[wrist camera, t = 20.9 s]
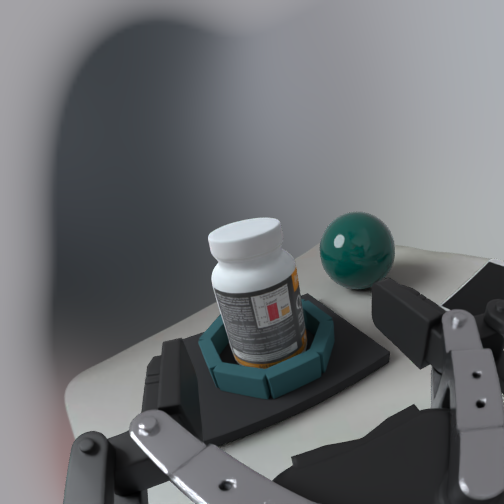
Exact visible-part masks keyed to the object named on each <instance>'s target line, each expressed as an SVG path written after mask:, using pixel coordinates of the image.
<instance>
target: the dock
mask: <svg viewBox="0 0 504 504" xmlns="http://www.w3.org/2000/svg"><path fill="white" fill-rule="evenodd" d="M301 302H302V308H303V315H304V322H305V329H306V336H307V348H306V351H305V352H303V353H301V354H299V355H296V356H294V357H292V358H290V359H287V360H285V361H283V362H280V363H278V364H276V365H273V366H271V367H269V368H266V369H263V368H256V367H249V366H242V365H239V364H238V363H237V361H236V360H235V357H234V355H233V352H232V349H231V346H230V343H229V339H228V336H227V332H226V329H225V326H224V322H223V319H222V317H221V314H220V315H219V317H218V318H217V319H216V320H215V321H214V322H213V323H212V324H211V326H210V327H209V328H208V329H207V330H206V331H205V332H203V333H200V334H197V335H194V336H191V337H188V338H185V339H183V341H184V344H185V346H186V349H187V351H188V354H189V356H190V359H191V361H192V364H193V366H194V369H195V372H196V376H197V380H198V391H199V402H200V412H201V422H202V432H203V440H204V444H206V445H208V444H209V443H211V444H214V445H215V446H219V445H222V444H225V443H228V442H231V441H233V440H236V439H239V438H241V437H244V436H247V435H249V434H252V433H254V432H257V431H259V430H262V429H264V428H266V427H269V426H271V425H273V424H276V423H278V422H280V421H282V420H285V419H287V418H289V417H291V416H293V415H295V414H298V413H300V412H302V411H304V410H306V409H308V408H310V407H312V406H314V405H316V404H318V403H320V402H322V401H324V400H325V399H327V398H329V397H331V396H333V395H335V394H337V393H338V392H340V391H342V390H344V389H345V388H347V387H349V386H351V385H352V384H354V383H356V382H358V381H359V380H361V379H363V378H364V377H366V376H367V375H369V374H371V373H372V372H374V371H375V370H377V369H379V368H380V367H382V366H383V365H385V364H386V363H388V362H389V358H390V352H389V351H388V350H386V349H385V348H384V347H382V346H381V345H379V344H378V343H377V342H375V341H374V340H372V339H371V338H369V337H368V336H367V335H365V334H364V333H362V332H361V331H360V330H358V329H357V328H355V327H354V326H353V325H351V324H350V323H348V322H347V321H346V320H344V319H343V318H341V317H340V316H339V315H337V314H336V313H334V312H333V311H332V310H330V309H329V308H327V307H326V306H324V305H323V304H322V303H320V302H319V301H317V300H316V299H315V298H313V297H312V296H310V295H309V294H305V295H302V296H301Z"/></svg>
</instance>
